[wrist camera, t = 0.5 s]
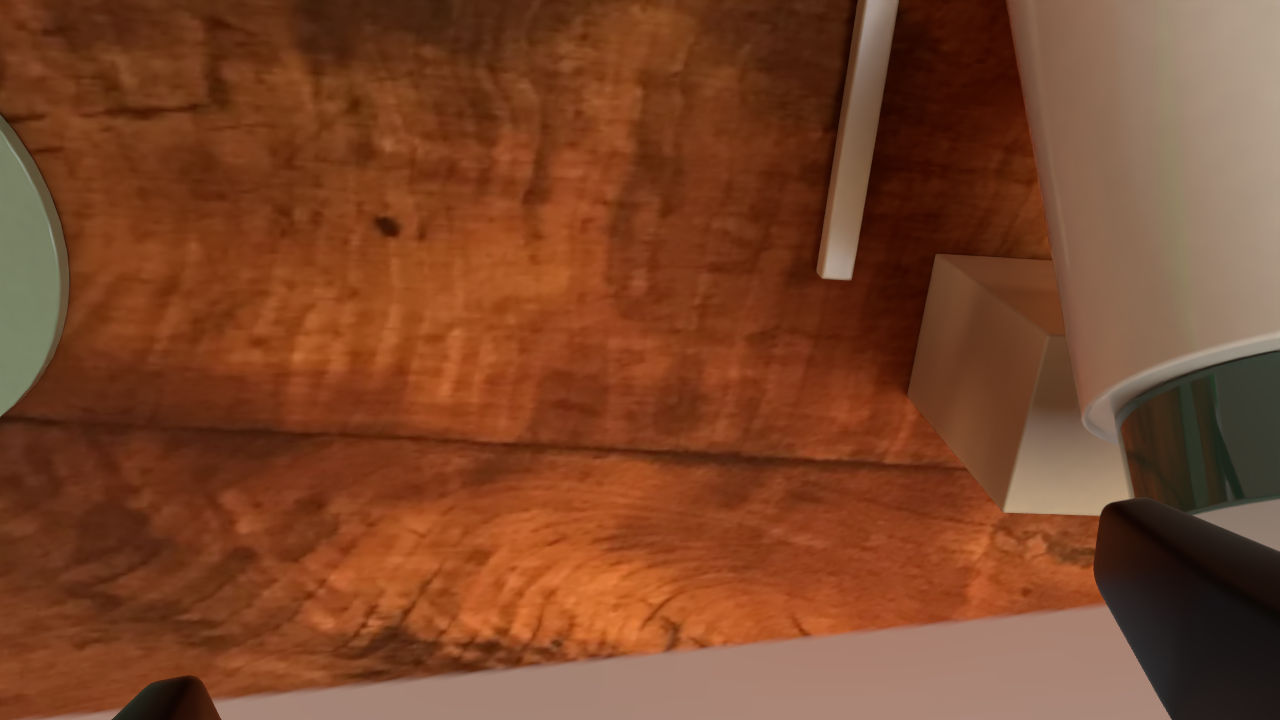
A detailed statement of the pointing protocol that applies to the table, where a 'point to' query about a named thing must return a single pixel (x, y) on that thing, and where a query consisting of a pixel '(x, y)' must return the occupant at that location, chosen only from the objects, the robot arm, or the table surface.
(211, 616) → the table surface
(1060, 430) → the jar stand
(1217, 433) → the jar
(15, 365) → the coaster
